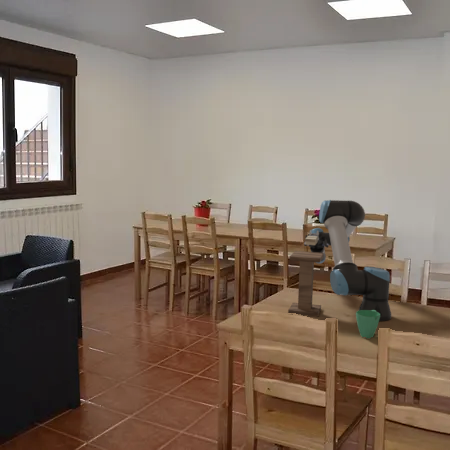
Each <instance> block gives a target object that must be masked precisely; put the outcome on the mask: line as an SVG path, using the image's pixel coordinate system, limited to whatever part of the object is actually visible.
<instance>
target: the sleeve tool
mask: <svg viewBox="0 0 450 450" xmlns="http://www.w3.org/2000/svg"><path fill="white" fill-rule="evenodd" d="M304 238H305V237H304ZM304 242H305V245H308V246H309V245H316V244H317V242H318V237H317V233H312V234H311V235H310V236H308V235H307V237H306V238H305V239H304Z"/></svg>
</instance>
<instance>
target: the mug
mask: <svg viewBox="0 0 450 450" xmlns="http://www.w3.org/2000/svg"><path fill="white" fill-rule="evenodd" d="M358 310H359V309H358ZM358 310H357V311H356V312H355V317H356V318H355V319H356V323H357V324H356V325H357V329H358V332H359V334H360V337H361V336H362V337H361V338H363V337H366V338H365V339H372V338H374V335H375V333H376V331H377V328H378V326H379V323H380V321H379V319H380V313H378V312H377V311H376V310H371V311H370V310H359V311H358ZM371 337H372V338H371Z"/></svg>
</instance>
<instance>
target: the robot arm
mask: <svg viewBox="0 0 450 450" xmlns="http://www.w3.org/2000/svg"><path fill="white" fill-rule="evenodd" d="M365 218H366V212H365V209H364V207H363V206H362V205H361V204H360V203H359V202H357V201H354V200H339V199H338V200H336V199H335V200H334V199H332V200H331V199H328V200H323V201H322V202H321V204H320V209H319V215H318V220H319V222H320V224H323V225H324V228H325V229H326V230H328V232H324V230H323V229H322V228H320V227H316V228H313V229H310V230H309V233H307V235H305V236H304V238H306V237H307V236H310V235H311V234H312V233H317V237H318V242H317V244H316V245H305V241H304V244H303V246H304V247H307V246H308V247H309V250H310V252H319V253H324V257H323V258H322V260H321V262H320V263H317V262H315V263H316V264H323V263H324V262H325V261H326V258H327V255H326V250H325V249H326V248H329V246H330V247H331V252H332V256H333V262H334V263H333V264H334V266H333V268H332V270H331V272H330V273H329V274H330V275H329V279H330V281H329V282H330V286H331V289H332V291H333V293H334V294H336V295H338V296H339V295H340V296H362V301H361V303H360V305H359V307H358V310H357V311H359V310H370V311H371V310H376V311H377V312H378V313H380V319H379V322H385V321H390V320H391V319H392V311H391V306H390V303H389V294H390V281H391V280H390V278H391V277H390V272H389V271H388V270H386V269H384V268H381V267H380V268H379V267H376V266H364V268H363V270H362V269H358V265H357V264H356V263H354V260H353V255H352V251H351V247H350V235H352V233H353V232H354V231H355V229H356V228H357V227H358V226H361V225H362V224H363V223H364V221H365Z"/></svg>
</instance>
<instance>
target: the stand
mask: <svg viewBox="0 0 450 450" xmlns="http://www.w3.org/2000/svg"><path fill="white" fill-rule="evenodd" d="M323 257H324V253H319V252H311V251H304V250H303V251H301V250H294V251H293V252H292V253H291V254H290V256H289V261H291V262H292V261H293V262H299V270H298V271H299V273H298V298H297V302H292V303H291V305H290V306H289V308H288V310H287V314H288V313H296V314H301V315H300V316H303V315H308V316H307V317H314V318H318V317H319V315H320V312H321V310H322V305H321V304H313V292H314V289H313V288H314V272H315V271H314V268H315V264H314V263H316V262H317V263H316V264H319V263H320V262H321V260H322V258H323ZM320 264H321V263H320Z"/></svg>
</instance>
